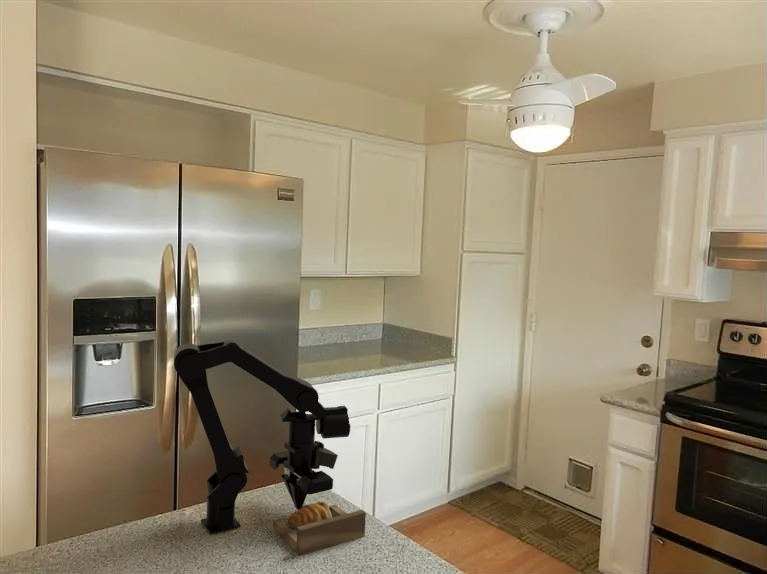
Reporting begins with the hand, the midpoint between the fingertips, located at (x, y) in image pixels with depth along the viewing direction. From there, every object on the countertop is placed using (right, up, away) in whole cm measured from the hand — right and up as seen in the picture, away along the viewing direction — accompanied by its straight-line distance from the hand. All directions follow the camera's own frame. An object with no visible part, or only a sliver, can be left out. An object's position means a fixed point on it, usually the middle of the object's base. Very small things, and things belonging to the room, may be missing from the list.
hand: (298, 508), depth 129 cm
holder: (+5, -2, -7) cm, 9 cm away
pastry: (+3, -2, -3) cm, 5 cm away
